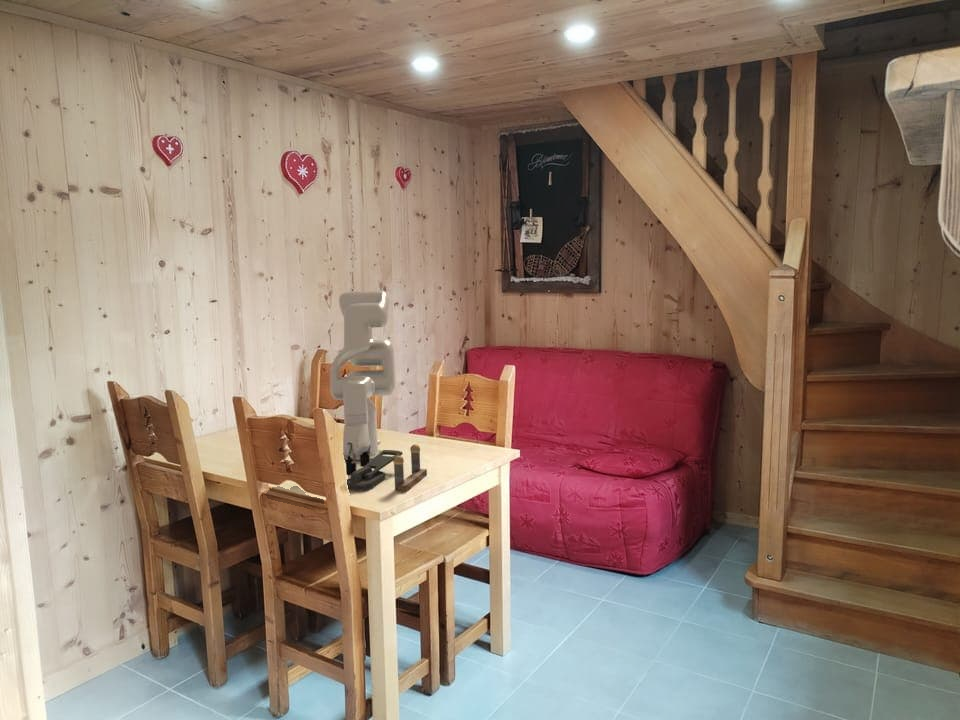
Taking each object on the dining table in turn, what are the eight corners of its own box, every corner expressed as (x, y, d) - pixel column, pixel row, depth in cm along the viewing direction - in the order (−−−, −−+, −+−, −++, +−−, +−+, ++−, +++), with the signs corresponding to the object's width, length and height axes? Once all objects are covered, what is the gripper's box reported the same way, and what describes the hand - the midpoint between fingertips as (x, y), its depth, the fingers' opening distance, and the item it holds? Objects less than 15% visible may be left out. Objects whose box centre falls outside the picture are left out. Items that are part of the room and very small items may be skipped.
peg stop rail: (413, 474, 220) (412, 442, 219) (426, 475, 219) (425, 443, 218) (392, 491, 203) (390, 457, 202) (406, 492, 202) (405, 457, 200)
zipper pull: (405, 451, 224) (364, 471, 202) (406, 470, 225) (365, 492, 202) (382, 448, 228) (339, 468, 205) (383, 467, 229) (340, 489, 206)
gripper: (357, 413, 223) (360, 463, 225) (332, 424, 206) (334, 477, 208) (378, 413, 220) (380, 464, 223) (354, 425, 204) (356, 479, 206)
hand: (358, 470), depth 215 cm, fingers open, 9 cm apart
